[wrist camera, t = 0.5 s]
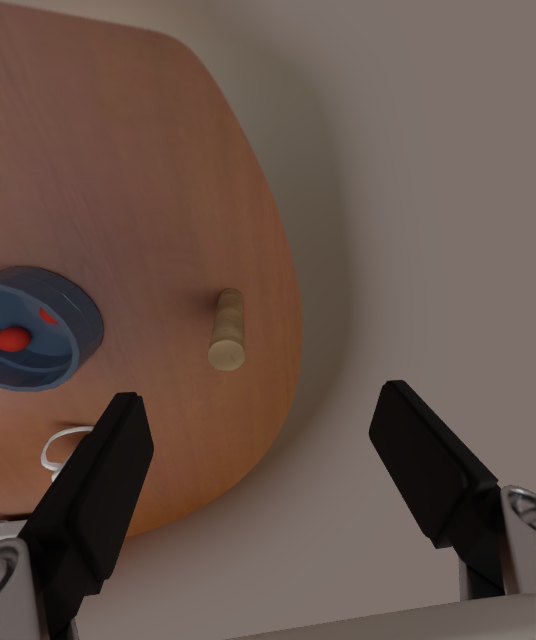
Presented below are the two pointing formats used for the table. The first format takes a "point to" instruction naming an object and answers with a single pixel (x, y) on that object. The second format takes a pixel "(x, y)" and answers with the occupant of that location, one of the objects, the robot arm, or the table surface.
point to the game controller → (10, 528)
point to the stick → (228, 332)
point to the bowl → (45, 329)
